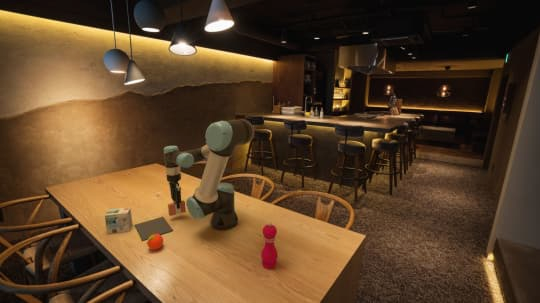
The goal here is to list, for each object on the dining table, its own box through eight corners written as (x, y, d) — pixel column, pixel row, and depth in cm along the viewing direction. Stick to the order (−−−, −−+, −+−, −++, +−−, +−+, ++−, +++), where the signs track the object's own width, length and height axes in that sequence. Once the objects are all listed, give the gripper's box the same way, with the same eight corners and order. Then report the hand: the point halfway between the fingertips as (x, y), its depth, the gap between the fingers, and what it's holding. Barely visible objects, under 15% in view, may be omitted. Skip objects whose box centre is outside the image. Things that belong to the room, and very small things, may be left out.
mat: (173, 231, 130) (173, 230, 130) (142, 241, 121) (141, 240, 121) (163, 217, 144) (163, 216, 144) (134, 225, 135) (134, 224, 135)
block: (185, 211, 145) (185, 201, 143) (170, 216, 139) (169, 205, 138) (184, 210, 147) (183, 200, 145) (168, 214, 141) (167, 204, 140)
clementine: (152, 255, 111) (150, 241, 109) (142, 250, 114) (140, 237, 112) (167, 246, 118) (165, 233, 116) (157, 242, 121) (156, 229, 119)
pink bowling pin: (277, 258, 110) (278, 217, 105) (278, 269, 103) (279, 227, 98) (260, 258, 110) (261, 217, 105) (260, 270, 103) (261, 227, 98)
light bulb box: (106, 234, 127) (103, 215, 124) (111, 227, 133) (108, 209, 130) (130, 231, 130) (127, 212, 127) (133, 224, 136) (130, 207, 133)
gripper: (185, 175, 134) (188, 215, 139) (175, 169, 146) (179, 206, 151) (171, 178, 129) (175, 219, 135) (162, 171, 141) (166, 209, 146)
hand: (177, 212), depth 143 cm, fingers closed on block, 2 cm apart
